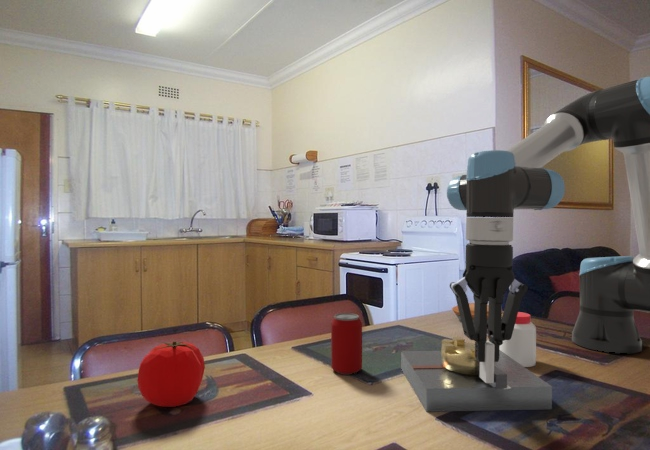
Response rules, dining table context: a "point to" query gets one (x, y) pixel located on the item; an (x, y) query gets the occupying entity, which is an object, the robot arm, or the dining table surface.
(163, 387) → the tomato
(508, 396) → the housing
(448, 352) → the studded gold disc
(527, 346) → the pill bottle
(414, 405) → the dining table surface
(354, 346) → the beverage can
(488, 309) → the pie
